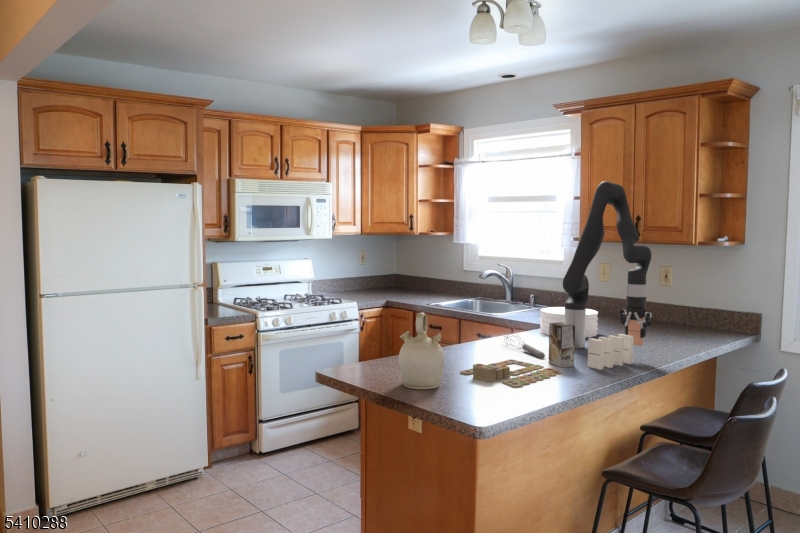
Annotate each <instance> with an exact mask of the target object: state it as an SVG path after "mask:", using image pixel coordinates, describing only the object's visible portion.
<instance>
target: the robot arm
mask: <svg viewBox="0 0 800 533" xmlns="http://www.w3.org/2000/svg"><path fill="white" fill-rule="evenodd" d="M627 199H628V198H627V194H626V191H625V188H624V187H623V186H622V185H620V184H618V183H615V182H611V181H606V180H604V181H601V182H600V183H599V184H598V185H597V187H596V189H595V192H594V194H593V199H592V202H591V206H590V210H589V214H588V217H587V220H586V223H585V225H584V227H583V230H582V231H581V235H580V237H579V241H578V244H577V247H576V249H575V251H574V255H573V259H572V260H571V263H570V265H569V267H568V269H567V271H566V273H565V275H564V277H563V279H562V288H563V290H564V292H565V293H567V294H568V297H567V299H566V300H565V301H564V307H565V313H564V323H567V324H571V325H575V349H583V348H585V347H586V338H585V322H586V309H587V304H588V301H589V290H590V283H589V279H588V276H587V275H586V271H587V269H588V267H589V265H590V263H591V262H592V261H593V259H594V258H595V256H596V255H597V254H598V252H599V251H600V249H601V246H602V243H603V241H604V238H605V225H604V213H605V210H606V207H607V205H610V206H612V207H613V208H614V210H615V212H616V215H617V216H616V225H615V226H616V232H618V233H617V234H618V236H619V238H620V241H621V243H622V244H621V246H622V254H623V255H622V256H623V259H624V260H625V261H626V262H627V263H629V264H636V266H635V267H634V268H632V269H629V270H628V271H627V284H626V300H625V301H626V308H623V309H619V317H620V324H621V325H624V333H625V334H624V335H628V323H629V321H630V319H631V320H636V321H638V323H639V324H640V327H641V329H640V338H643V339H644V338H645V337H646V336H647V329H649V328H651V326H652V322H653V315H654V314H653V312H648V311H647V310H646V307H647V273H648V270H649V268H650V264H651V260H652V251H651V249H650V247H649V246H647V245H636V244H637V243H638V242H639V241H640V235H639V232H638V230H637V228H636V226H635V223H634V221H633V219H632V218H633V217H632V215H631V211H630V207H629V203H628V200H627ZM640 318H644V320H643V321H641V320H640Z"/></svg>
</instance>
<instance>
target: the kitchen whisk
mask: <svg viewBox="0 0 800 533" xmlns="http://www.w3.org/2000/svg"><path fill="white" fill-rule="evenodd" d="M506 335H507V336H504V335H503V337H504V340H503V341H505V344H508V346H512V347H514V345H513V343H508V342H510V341H512V342H514V343H515V340H513V339H512V338H511V337H512V336H513V337H514V338H515V339H517V338H518V334H516V333H515V335H513V333H511V332H510V333H508V332H507V333H506ZM509 335H511V336H509ZM507 340H508V342H507ZM520 340H521V341H522V342H521V341H520ZM519 343H520V346H521V347H519V346H517V345H516V347H517V350H520V349H521V350H524V351H526V352H527V353H529V354H531V355H533V356H535V357H537V358H538V359H541V358H543V359H545V358H546V354H545V353H544V352H543V351H540V350H539V349H537V348H535V347H533V346H531V345H530V344H527V343H525V341H524V340H523V339H522V337H519Z"/></svg>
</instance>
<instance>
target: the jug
mask: <svg viewBox="0 0 800 533" xmlns="http://www.w3.org/2000/svg"><path fill="white" fill-rule="evenodd" d="M415 318H416V320H415V330H416V334H417V335H416V336H414V337H413V336H411V334H410V331H409V330H407V331H405V332H404V333H403V334H401V335H400V336H399V338H400V339H401V340H402V341H404V342H403V344H402V346H401V348H400V350H399V353H398V365H399V370H400V374H401V380H402V384H403V386H404V388H407V389H411V390H422V391H423V390H434V389H437V388H439V386H440V384H441V383H440V382H441V380H442V376H443V371H444V365H445V355H444V351H443V348H442V346H441V345H440V344H439V343H440V342H441V339H442V338H441V337H442V334H441V333H437V334H436V335H433V337H429V336H428V335H427V333H428V316H427V315H426V313H425V312H421V311H420V312H419V313H417V315H416V316H415Z"/></svg>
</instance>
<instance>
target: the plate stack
mask: <svg viewBox="0 0 800 533" xmlns="http://www.w3.org/2000/svg"><path fill="white" fill-rule="evenodd" d="M564 313H565V306H551V307H550V306H549V307H543V308H540V325H539V326H540V330H539V332H540V333H541V334H542V335H546V336H549V323H556V322H563V323H564ZM598 315H599V311H597V310H595V309H590V308H586V322H585V339H586V338H587V337H588V338H593V336H594V337H597V336H598V329H599V328H598V324H599V322H598V320H599V317H598ZM596 335H597V336H596Z"/></svg>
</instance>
